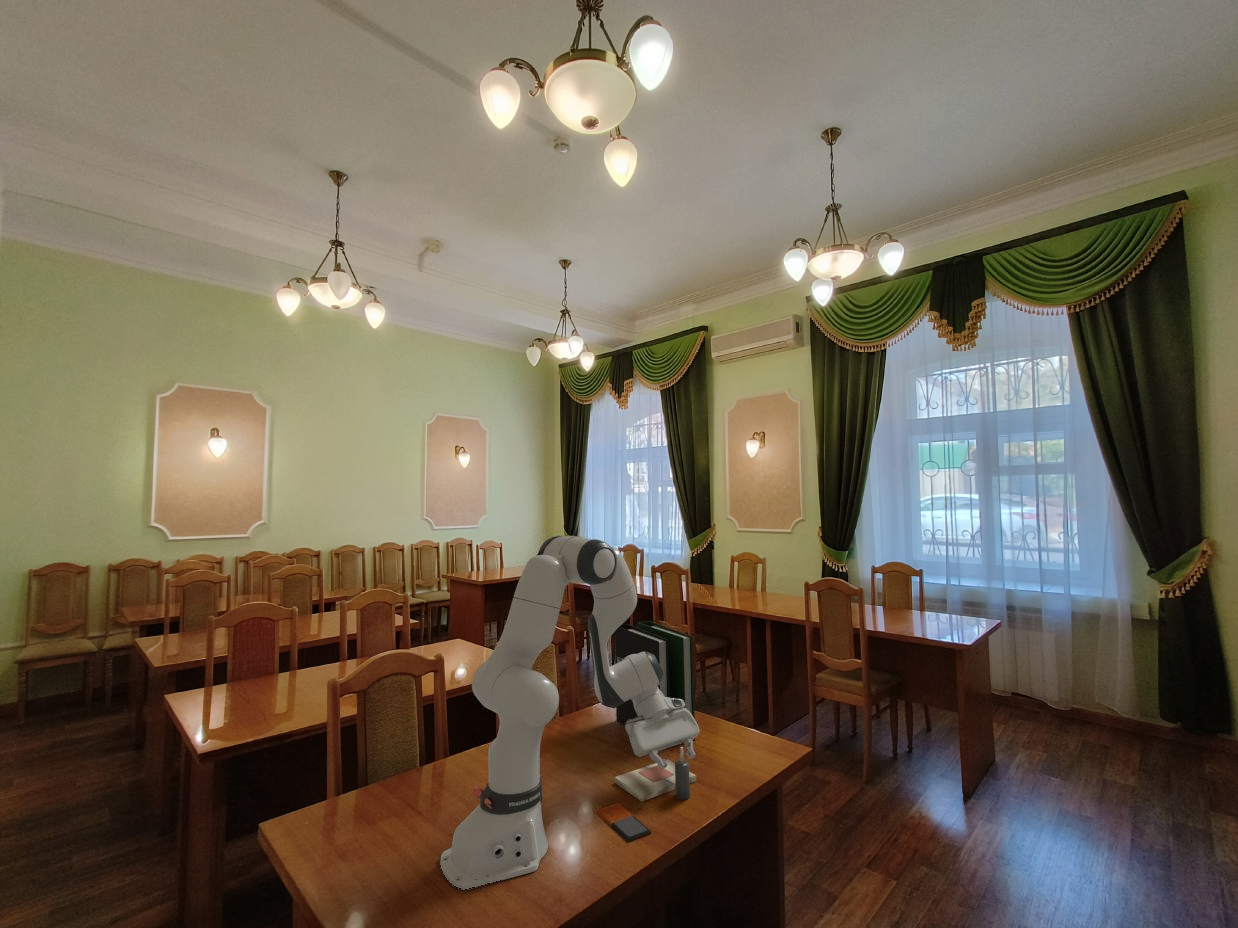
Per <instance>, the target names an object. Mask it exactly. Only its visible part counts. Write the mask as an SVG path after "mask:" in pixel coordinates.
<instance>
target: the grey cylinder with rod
mask: <svg viewBox="0 0 1238 928" xmlns="http://www.w3.org/2000/svg"><path fill="white" fill-rule="evenodd" d="M674 763H675V788H676V789H675V798H676V799H677V800H680V801H687V800H689V799H690V798H691V786H690V784H691V783H690V778H689V772H690V763H689V762H688V761H687V760H684V747H683V746H680V747H679V760H677V761H675V762H674Z"/></svg>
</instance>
